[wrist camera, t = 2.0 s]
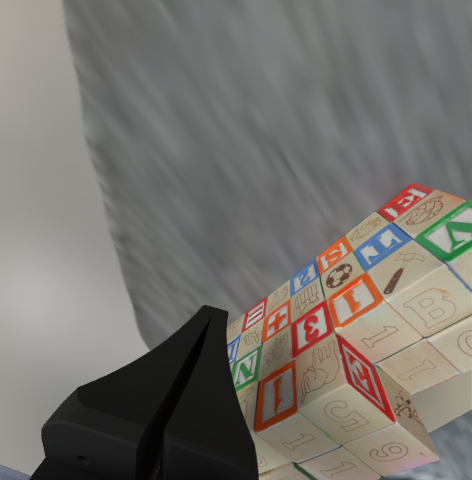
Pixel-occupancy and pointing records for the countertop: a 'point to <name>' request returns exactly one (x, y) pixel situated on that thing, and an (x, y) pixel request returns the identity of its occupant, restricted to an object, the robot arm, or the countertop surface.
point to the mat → (444, 401)
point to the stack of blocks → (359, 344)
